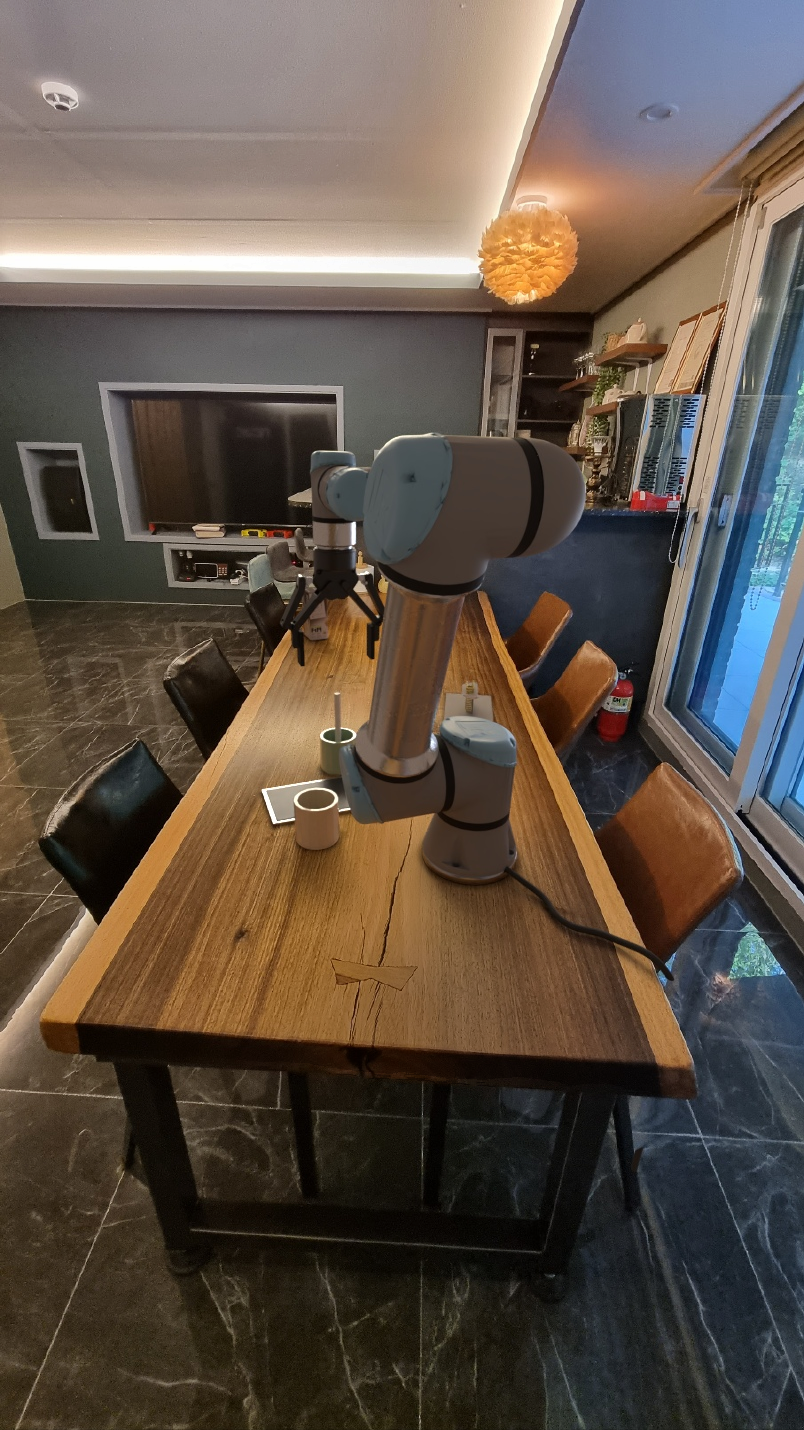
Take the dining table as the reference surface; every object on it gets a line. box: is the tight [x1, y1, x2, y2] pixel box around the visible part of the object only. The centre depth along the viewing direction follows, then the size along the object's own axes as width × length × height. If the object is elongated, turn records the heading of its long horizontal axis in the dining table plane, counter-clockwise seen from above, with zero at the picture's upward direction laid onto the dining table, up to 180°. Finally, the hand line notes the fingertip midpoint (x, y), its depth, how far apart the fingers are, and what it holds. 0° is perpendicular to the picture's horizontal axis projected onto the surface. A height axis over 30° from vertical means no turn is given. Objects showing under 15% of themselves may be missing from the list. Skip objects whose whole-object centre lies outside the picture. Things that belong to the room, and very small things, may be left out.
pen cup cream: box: [294, 788, 340, 851], centre depth 102 cm, size 7×7×8 cm
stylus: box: [333, 692, 342, 742], centre depth 122 cm, size 1×1×16 cm
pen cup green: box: [319, 727, 357, 776], centre depth 124 cm, size 7×7×8 cm
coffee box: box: [301, 586, 329, 641], centre depth 207 cm, size 9×6×16 cm
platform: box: [443, 679, 494, 722], centre depth 155 cm, size 12×18×7 cm, turn 175°
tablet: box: [261, 776, 351, 827], centre depth 113 cm, size 12×17×1 cm
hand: (336, 660), depth 116 cm, fingers open, 13 cm apart
